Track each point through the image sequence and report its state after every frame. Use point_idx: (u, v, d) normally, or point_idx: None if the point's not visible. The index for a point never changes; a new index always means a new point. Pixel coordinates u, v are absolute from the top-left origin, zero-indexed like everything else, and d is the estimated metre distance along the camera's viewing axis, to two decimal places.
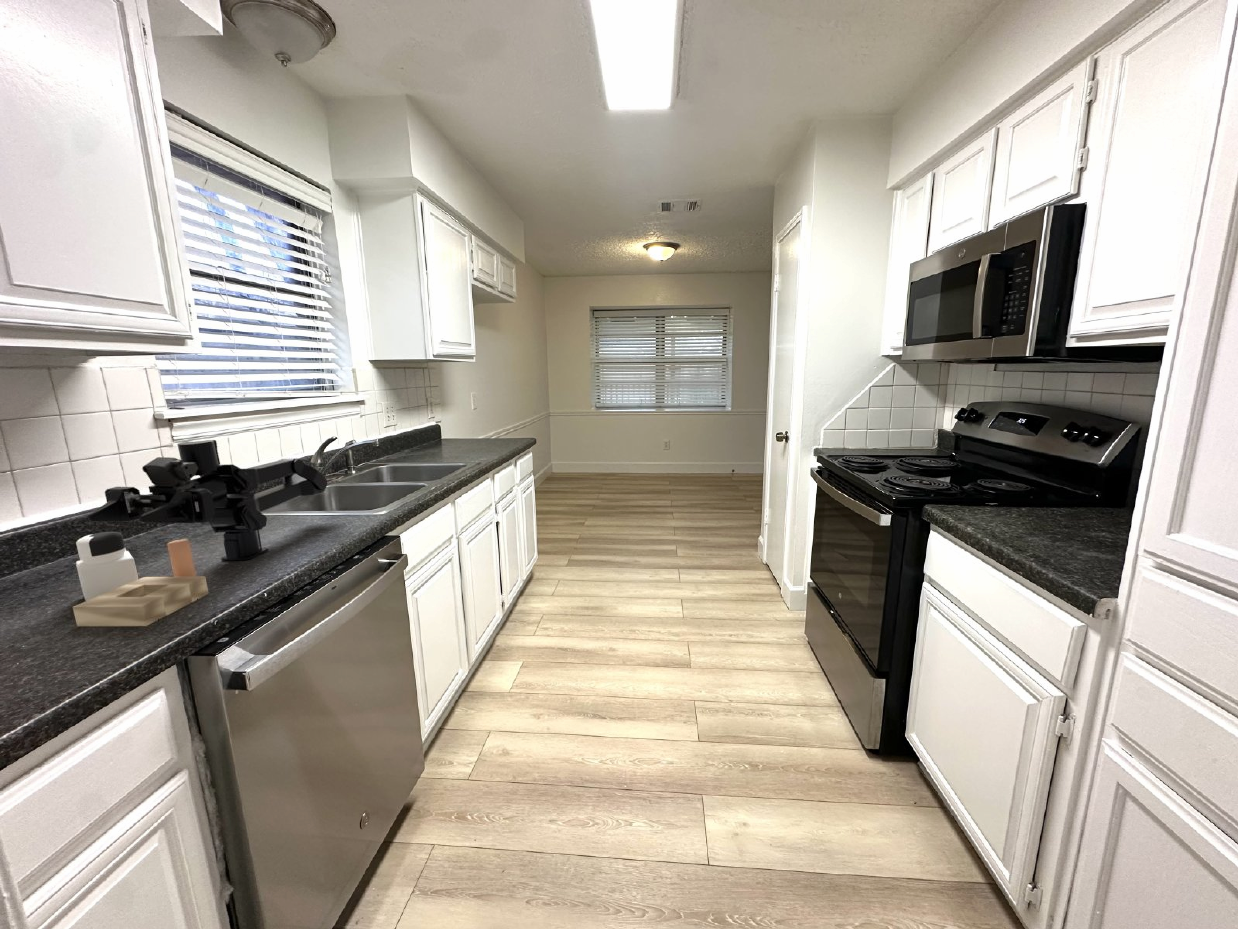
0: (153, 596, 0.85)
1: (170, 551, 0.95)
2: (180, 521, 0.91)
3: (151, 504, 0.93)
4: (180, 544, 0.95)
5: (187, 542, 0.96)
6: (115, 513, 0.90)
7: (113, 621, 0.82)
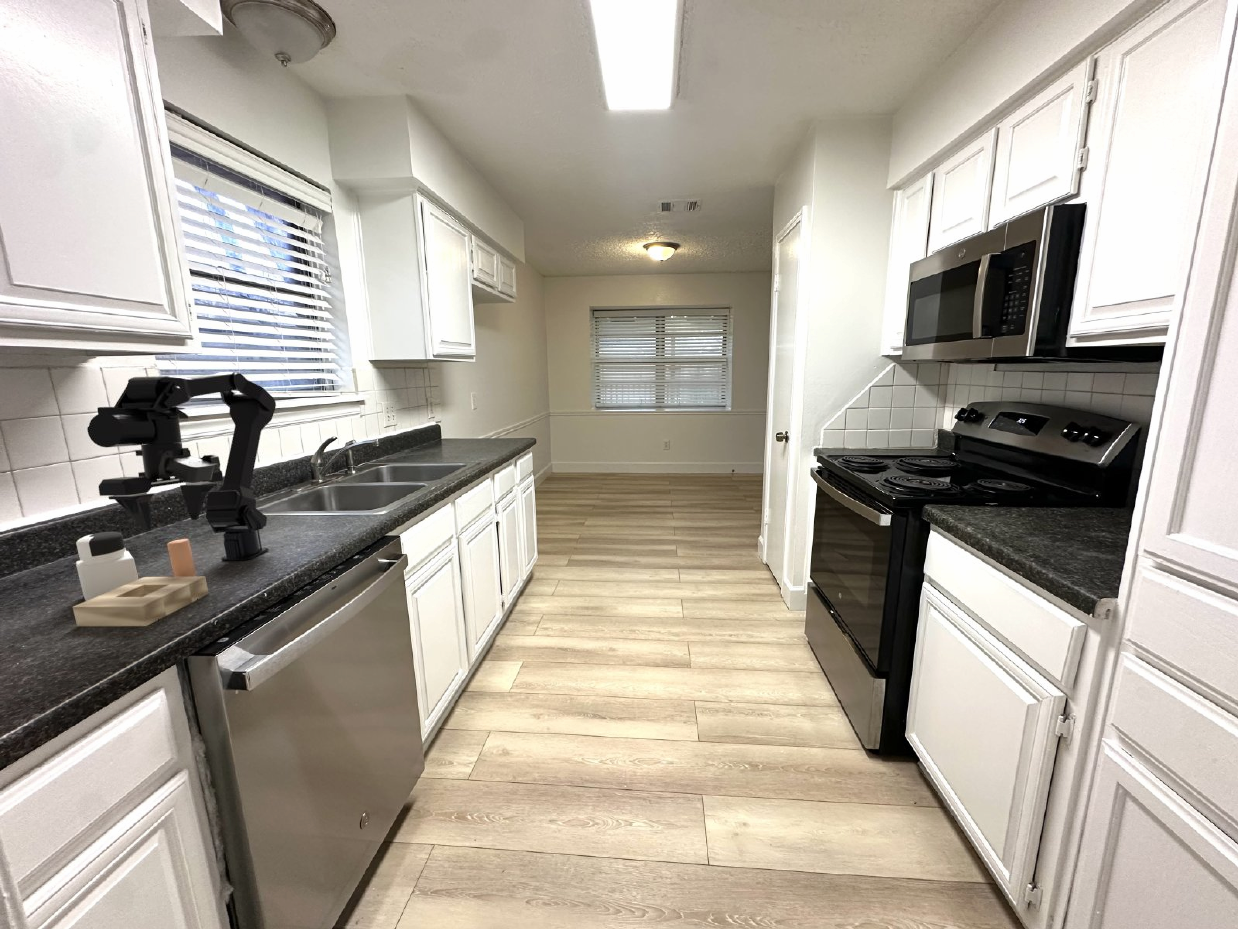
0: (153, 596, 0.85)
1: (170, 551, 0.95)
2: None
3: (161, 485, 0.93)
4: (180, 544, 0.95)
5: (187, 542, 0.96)
6: None
7: (113, 621, 0.82)
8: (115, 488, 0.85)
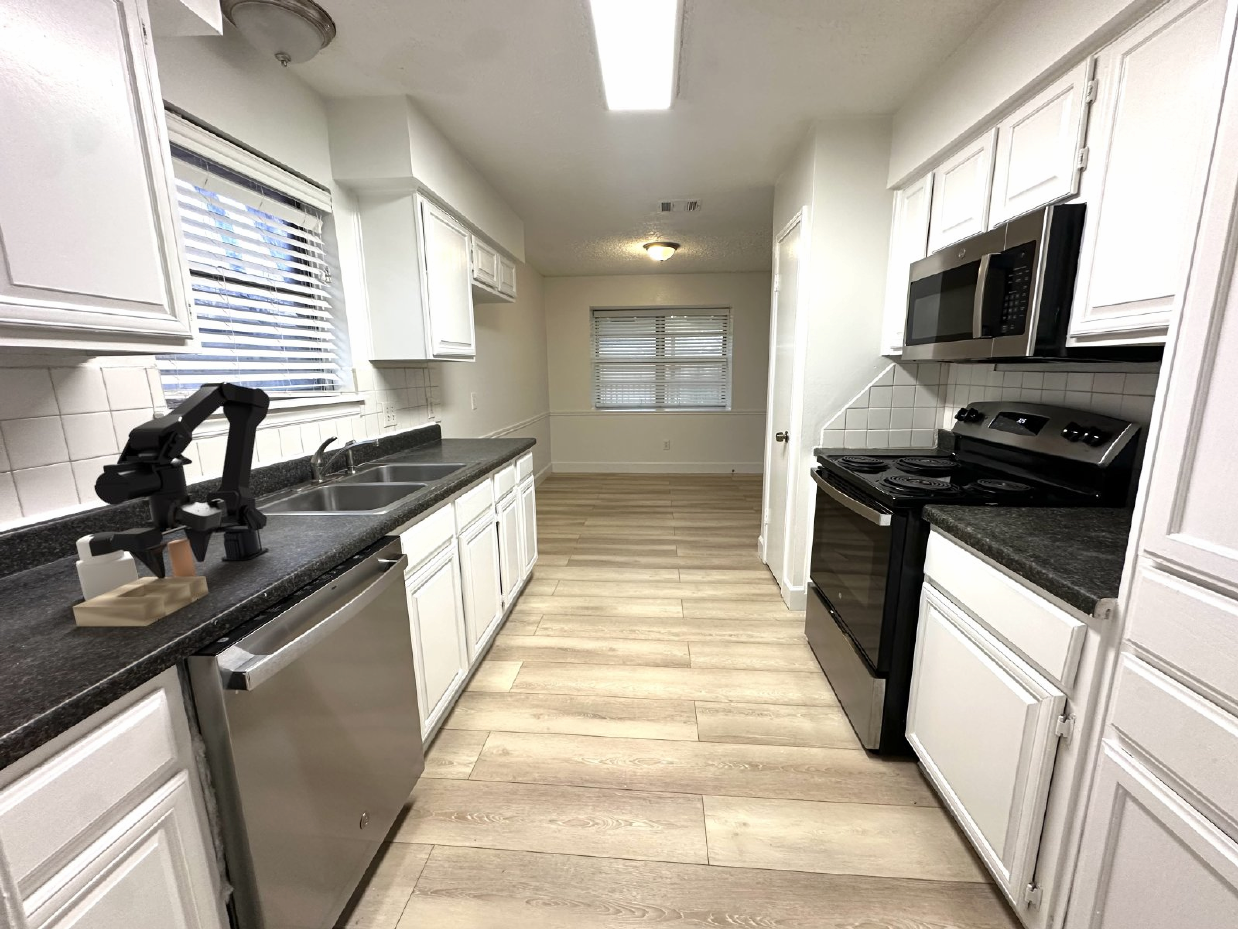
0: (153, 596, 0.85)
1: (170, 551, 0.95)
2: None
3: (170, 532, 0.94)
4: (180, 544, 0.95)
5: (187, 542, 0.96)
6: None
7: (113, 621, 0.82)
8: (127, 543, 0.86)
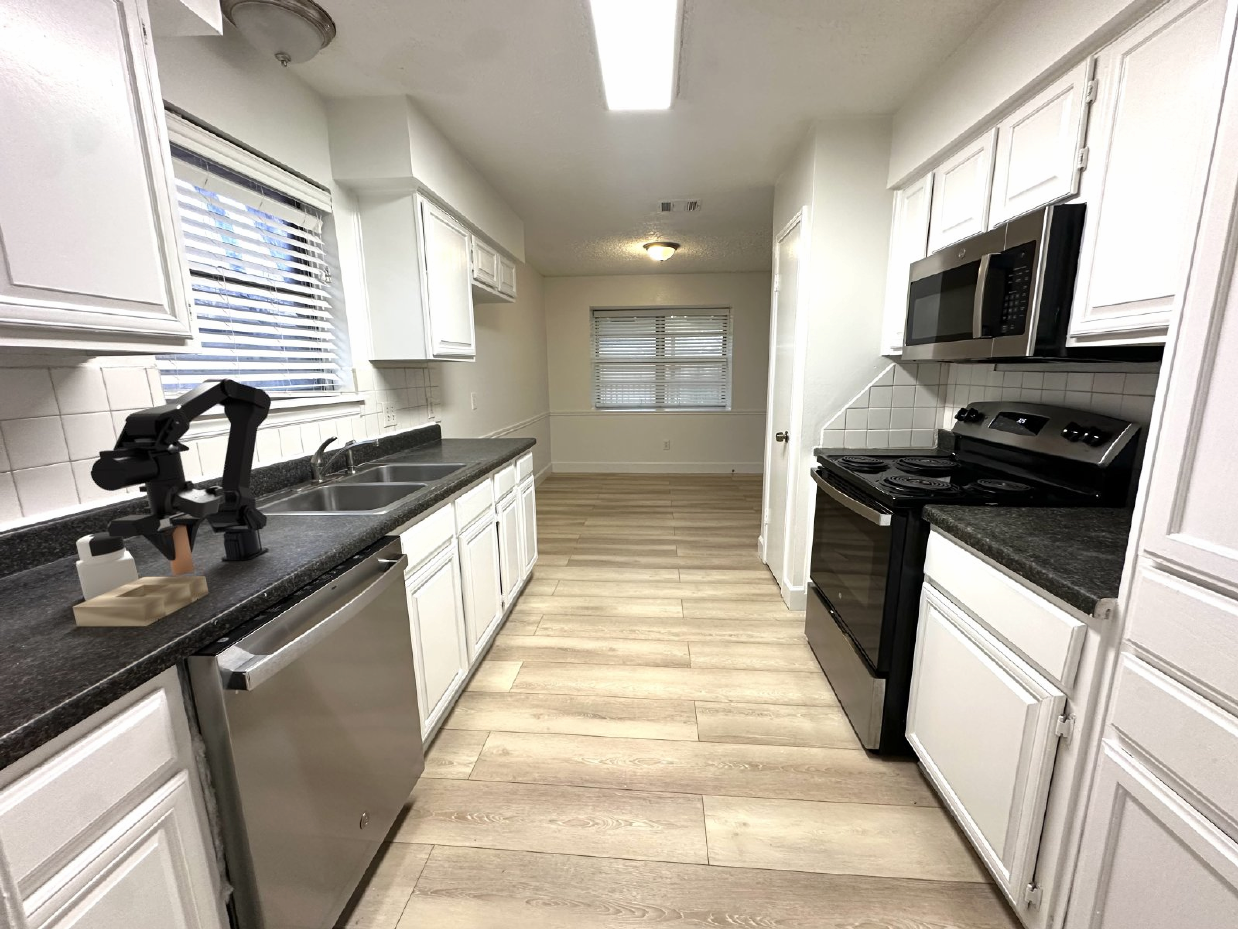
0: (153, 596, 0.85)
1: None
2: None
3: None
4: (177, 530, 0.94)
5: (184, 528, 0.96)
6: None
7: (113, 621, 0.82)
8: (125, 529, 0.86)
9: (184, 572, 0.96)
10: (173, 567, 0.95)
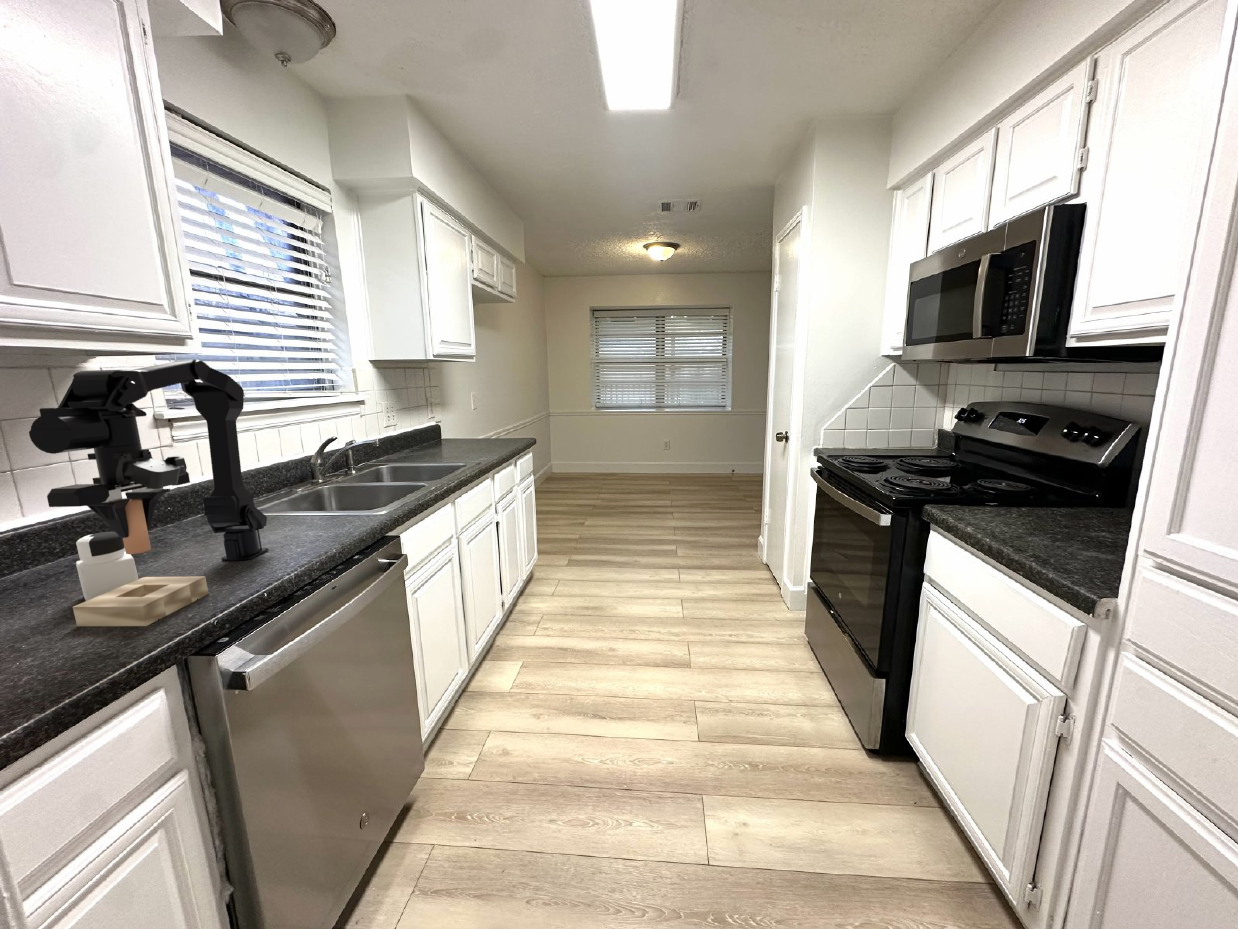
0: (153, 596, 0.85)
1: None
2: None
3: (120, 492, 0.84)
4: (130, 503, 0.84)
5: (139, 502, 0.85)
6: None
7: (113, 621, 0.82)
8: (66, 499, 0.76)
9: (138, 551, 0.86)
10: (126, 545, 0.85)
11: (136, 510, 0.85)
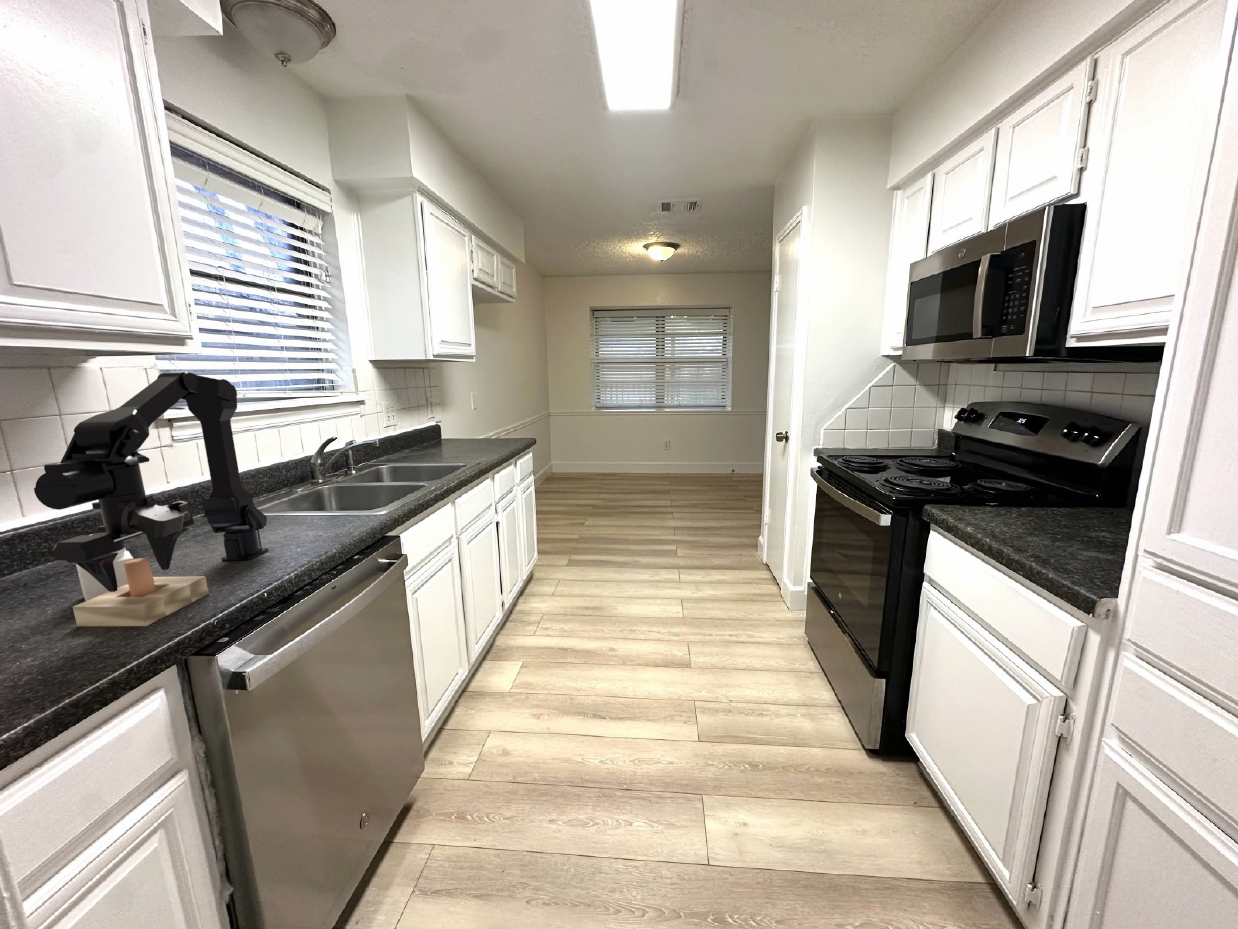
0: (153, 596, 0.85)
1: (127, 572, 0.85)
2: None
3: (125, 539, 0.84)
4: (138, 564, 0.85)
5: (146, 561, 0.86)
6: None
7: (113, 621, 0.82)
8: (73, 552, 0.76)
9: None
10: None
11: (144, 570, 0.86)
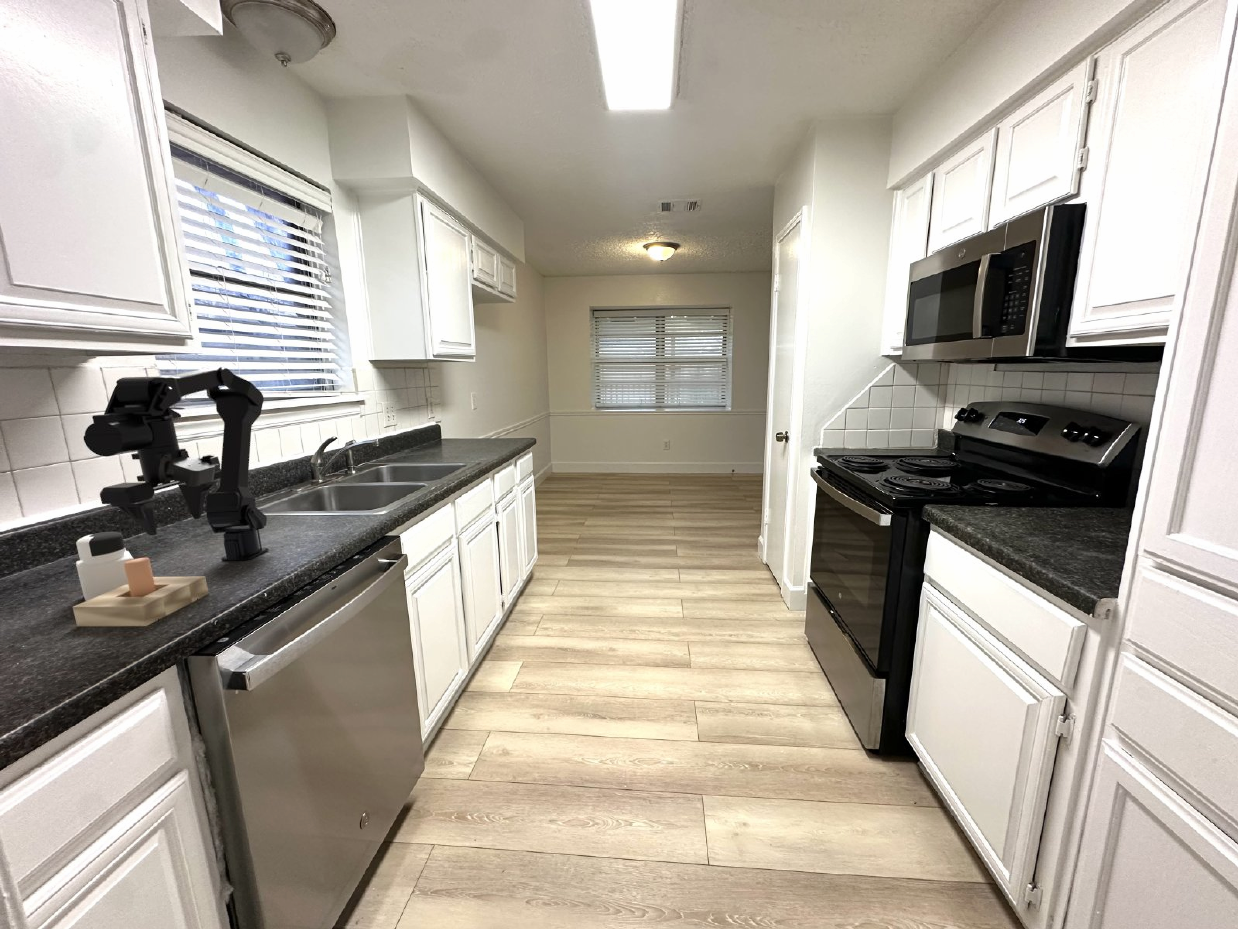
0: (153, 596, 0.85)
1: (127, 572, 0.85)
2: None
3: (162, 488, 0.92)
4: (138, 564, 0.85)
5: (146, 561, 0.86)
6: None
7: (113, 621, 0.82)
8: (118, 497, 0.83)
9: None
10: None
11: (144, 570, 0.86)
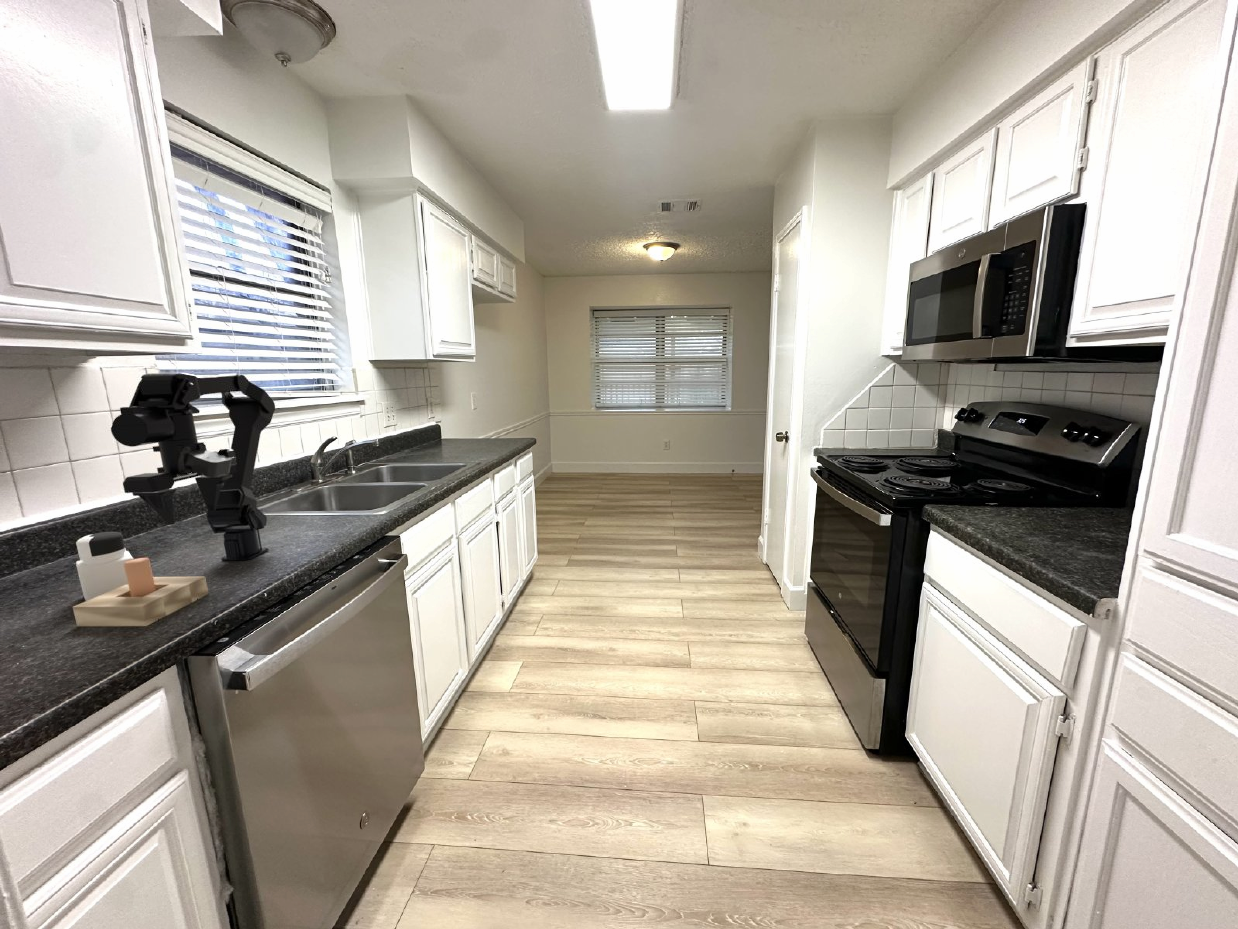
0: (153, 596, 0.85)
1: (127, 572, 0.85)
2: None
3: None
4: (138, 564, 0.85)
5: (146, 561, 0.86)
6: None
7: (113, 621, 0.82)
8: (140, 485, 0.87)
9: None
10: None
11: (144, 570, 0.86)
